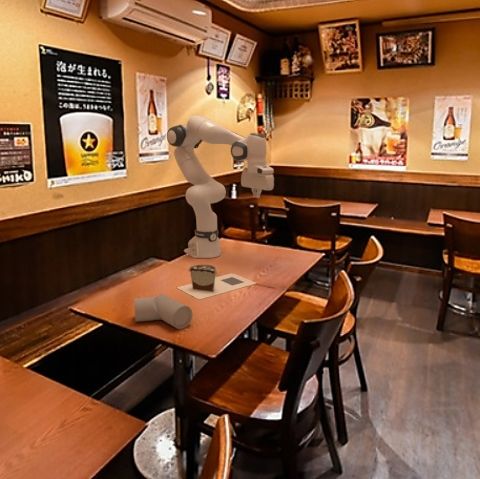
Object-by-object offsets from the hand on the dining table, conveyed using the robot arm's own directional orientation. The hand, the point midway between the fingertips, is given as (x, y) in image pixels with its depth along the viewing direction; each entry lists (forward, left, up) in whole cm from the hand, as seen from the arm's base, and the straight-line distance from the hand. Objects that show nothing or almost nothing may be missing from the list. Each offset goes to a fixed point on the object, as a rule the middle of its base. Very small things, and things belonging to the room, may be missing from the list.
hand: (256, 197), depth 218 cm
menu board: (+9, -30, -35) cm, 47 cm away
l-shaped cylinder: (+28, -68, -36) cm, 81 cm away
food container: (+9, -37, -35) cm, 52 cm away
